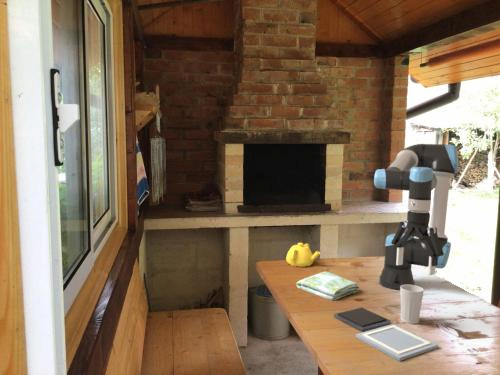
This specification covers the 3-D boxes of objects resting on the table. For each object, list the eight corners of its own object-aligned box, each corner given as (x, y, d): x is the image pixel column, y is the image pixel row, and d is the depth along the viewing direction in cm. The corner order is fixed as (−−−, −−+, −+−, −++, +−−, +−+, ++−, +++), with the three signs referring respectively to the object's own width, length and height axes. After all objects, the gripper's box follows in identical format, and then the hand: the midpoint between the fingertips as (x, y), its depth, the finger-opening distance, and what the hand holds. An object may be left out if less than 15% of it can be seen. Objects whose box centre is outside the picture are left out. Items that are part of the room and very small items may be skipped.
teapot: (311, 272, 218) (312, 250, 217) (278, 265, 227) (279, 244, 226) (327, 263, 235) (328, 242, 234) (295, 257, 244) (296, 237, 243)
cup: (421, 317, 165) (423, 286, 163) (421, 326, 157) (424, 293, 156) (398, 314, 167) (400, 283, 166) (398, 322, 160) (400, 290, 159)
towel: (333, 302, 179) (334, 290, 178) (295, 288, 195) (295, 277, 194) (360, 293, 191) (361, 281, 190) (322, 280, 207) (322, 269, 206)
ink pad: (333, 317, 163) (334, 313, 163) (361, 310, 170) (361, 306, 170) (361, 331, 151) (362, 327, 151) (390, 323, 159) (390, 319, 158)
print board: (355, 337, 147) (355, 333, 147) (393, 326, 156) (393, 322, 156) (399, 361, 132) (399, 356, 132) (438, 347, 141) (438, 343, 141)
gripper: (383, 206, 166) (380, 262, 169) (443, 217, 145) (439, 280, 148) (397, 205, 170) (393, 259, 173) (457, 215, 149) (452, 277, 152)
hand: (414, 269), depth 160 cm, fingers open, 13 cm apart
